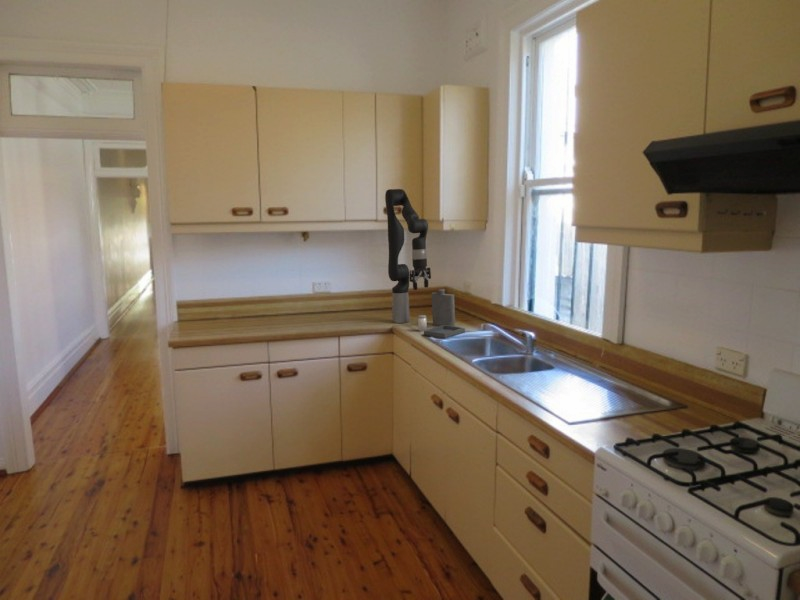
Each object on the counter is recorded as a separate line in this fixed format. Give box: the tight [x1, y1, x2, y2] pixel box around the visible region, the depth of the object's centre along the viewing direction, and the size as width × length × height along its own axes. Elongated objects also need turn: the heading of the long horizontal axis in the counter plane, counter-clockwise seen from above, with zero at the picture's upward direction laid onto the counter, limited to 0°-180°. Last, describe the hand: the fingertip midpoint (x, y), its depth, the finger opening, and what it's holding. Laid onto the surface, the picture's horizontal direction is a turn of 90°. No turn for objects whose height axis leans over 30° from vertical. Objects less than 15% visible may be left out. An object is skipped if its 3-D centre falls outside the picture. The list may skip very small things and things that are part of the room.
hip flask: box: [431, 288, 456, 327], centre depth 312 cm, size 16×4×20 cm, turn 41°
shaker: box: [417, 314, 428, 333], centre depth 303 cm, size 5×5×8 cm
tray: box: [423, 325, 466, 339], centre depth 293 cm, size 14×16×2 cm
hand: (420, 288), depth 300 cm, fingers open, 8 cm apart
